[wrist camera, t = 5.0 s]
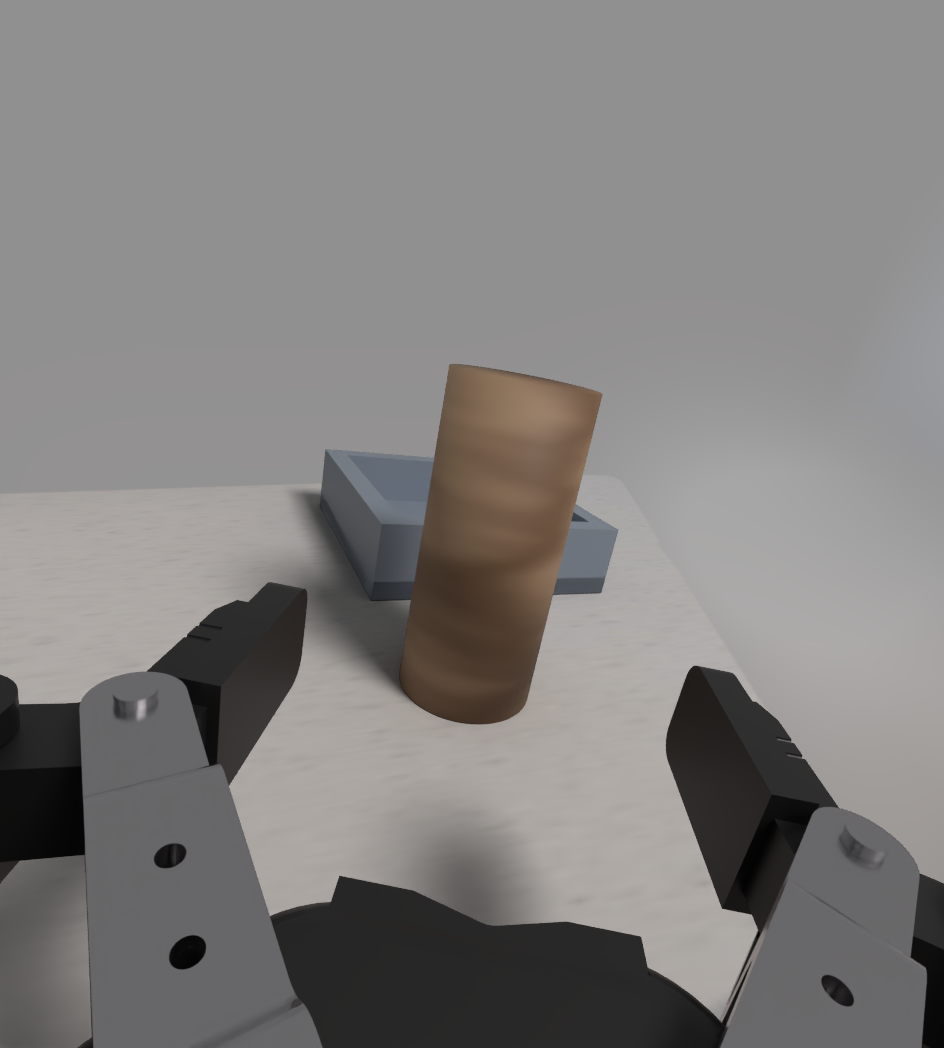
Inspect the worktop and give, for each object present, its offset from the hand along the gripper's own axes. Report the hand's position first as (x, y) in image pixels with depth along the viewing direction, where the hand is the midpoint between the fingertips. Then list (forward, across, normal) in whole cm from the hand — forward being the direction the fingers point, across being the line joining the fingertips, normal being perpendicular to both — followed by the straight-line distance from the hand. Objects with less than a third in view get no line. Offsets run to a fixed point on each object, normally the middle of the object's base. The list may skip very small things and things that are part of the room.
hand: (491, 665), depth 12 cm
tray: (+24, -2, -7) cm, 25 cm away
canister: (+10, 0, -7) cm, 12 cm away
